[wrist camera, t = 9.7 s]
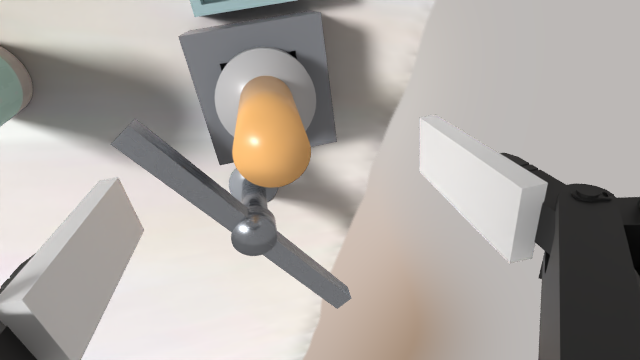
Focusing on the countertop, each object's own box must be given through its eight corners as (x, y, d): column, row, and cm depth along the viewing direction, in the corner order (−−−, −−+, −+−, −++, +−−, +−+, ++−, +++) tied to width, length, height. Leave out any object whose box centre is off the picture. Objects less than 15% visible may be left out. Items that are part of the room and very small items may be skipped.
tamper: (211, 45, 27) (173, 92, 14) (299, 33, 28) (337, 67, 15) (233, 129, 31) (217, 226, 18) (310, 116, 32) (349, 201, 19)
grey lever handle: (139, 114, 30) (100, 154, 22) (167, 85, 29) (136, 117, 21) (315, 255, 41) (330, 315, 33) (338, 237, 40) (359, 294, 32)
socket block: (180, 32, 27) (166, 38, 23) (310, 10, 28) (320, 12, 24) (236, 208, 36) (233, 237, 32) (334, 187, 37) (345, 212, 33)
